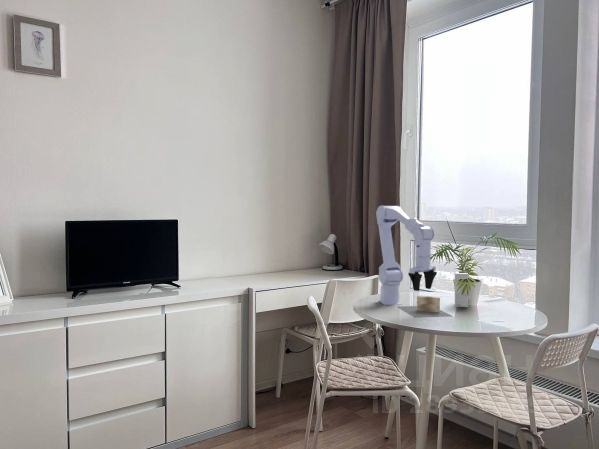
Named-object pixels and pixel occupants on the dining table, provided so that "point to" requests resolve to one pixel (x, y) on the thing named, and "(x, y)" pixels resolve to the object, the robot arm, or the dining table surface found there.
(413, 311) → the mat
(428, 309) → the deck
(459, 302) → the skincare box
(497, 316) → the dining table surface
